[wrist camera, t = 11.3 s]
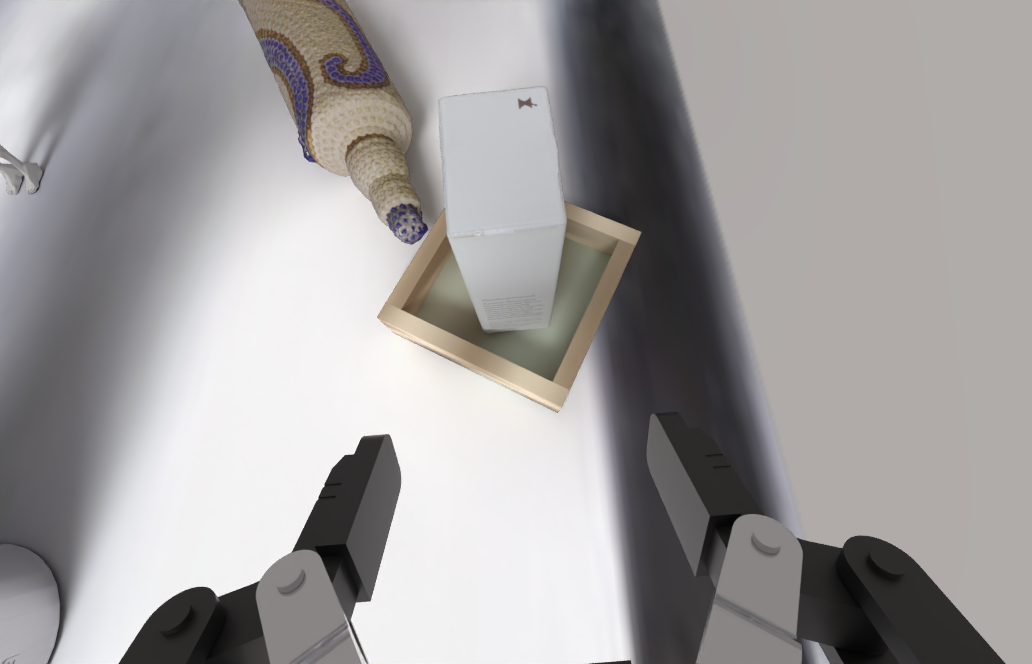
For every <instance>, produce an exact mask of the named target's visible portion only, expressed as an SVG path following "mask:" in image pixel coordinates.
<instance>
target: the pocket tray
mask: <svg viewBox="0 0 1032 664" xmlns="http://www.w3.org/2000/svg"><path fill="white" fill-rule="evenodd" d="M564 204H565V210H566V217H567V225H566V231H565V237H564V243H563V250H562V256H561V263H560V269H559V274H558V280H557V286H556V292H555V297H554V304H553V309H552V316H551V322H550V326H549V327H548V328H539V329H528V330H517V331H507V332H497V333H490V334H487V333H484V332H483V329H482V326H481V324H480V321H479V319H478V316H477V313H476V311H475V308H474V306H473V303H472V300H471V298H470V295H469V292H468V290H467V287H466V284H465V282H464V279H463V276H462V274H461V271H460V268H459V266H458V263H457V260H456V258H455V255H454V253H453V250H452V247H451V245H450V242H449V239H448V237H447V226H446V212H445V208H444V210H443V211H442V213H441V215H440V216H439V218H438V219H437V221H436V223H435V224H434V226H433V227H432V229H431V231H430V232H429V234H428V236H427V237H426V239H425V240H424V242H423V244H422V245H421V247H420V248H419V250H418V252H417V253H416V255H415V256H414V258H413V260H412V261H411V263H410V265H409V266H408V268H407V269H406V271H405V273H404V274H403V276H402V277H401V279H400V281H399V282H398V284H397V286H396V287H395V289H394V290H393V292H392V294H391V295H390V297H389V298H388V300H387V302H386V303H385V305H384V306H383V308H382V310H381V311H380V313H379V315H378V316H377V318H378V319H379V320H380V321H381V322H382V323H383V324H385V325H386V326H387V327H388V328H389V329H390V330H391V331H392V332H393V333H395V334H397V335H399V336H401V337H403V338H405V339H408V340H410V341H412V342H414V343H416V344H418V345H420V346H422V347H424V348H426V349H428V350H430V351H432V352H434V353H436V354H438V355H440V356H442V357H444V358H446V359H448V360H451V361H453V362H455V363H457V364H459V365H461V366H463V367H465V368H467V369H469V370H471V371H473V372H475V373H477V374H479V375H481V376H483V377H485V378H487V379H489V380H491V381H493V382H496V383H498V384H500V385H502V386H504V387H506V388H508V389H510V390H512V391H514V392H516V393H518V394H520V395H522V396H524V397H526V398H528V399H530V400H532V401H534V402H536V403H539V404H541V405H543V406H545V407H547V408H549V409H551V410H553V411H555V412H557V413H558V412H559V411H560V409H561V408H562V406H563V404H564V402H565V400H566V397H567V395H568V393H569V391H570V389H571V386H572V384H573V382H574V380H575V378H576V375H577V373H578V371H579V369H580V367H581V364H582V362H583V360H584V358H585V355H586V353H587V351H588V349H589V347H590V344H591V342H592V340H593V338H594V336H595V333H596V331H597V329H598V327H599V325H600V322H601V320H602V318H603V316H604V314H605V311H606V309H607V307H608V305H609V303H610V300H611V298H612V296H613V294H614V292H615V289H616V287H617V285H618V283H619V281H620V278H621V276H622V274H623V272H624V269H625V267H626V265H627V263H628V261H629V258H630V256H631V254H632V252H633V250H634V247H635V245H636V243H637V241H638V239H639V236H640V234H641V232H640V231H637V230H635V229H632V228H630V227H627V226H625V225H622V224H620V223H617V222H615V221H612V220H610V219H607V218H605V217H602V216H600V215H597V214H595V213H592V212H590V211H587V210H585V209H582V208H580V207H577V206H575V205H572V204H570V203H567V202H565V201H564Z"/></svg>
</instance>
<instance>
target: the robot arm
mask: <svg viewBox="0 0 1032 664" xmlns="http://www.w3.org/2000/svg"><path fill="white" fill-rule="evenodd" d="M647 462H648V466H649V470H650V473H651V475H652V477H653V480H654V482H655V484H656V487H657V489H658V491H659V493H660V496H661V498H662V500H663V503H664V505H665V507H666V510H667V512H668V514H669V517H670V519H671V521H672V524H673V526H674V528H675V531H676V533H677V535H678V538H679V540H680V542H681V545H682V547H683V549H684V552H685V554H686V556H687V559H688V561H689V563H690V565H691V568H692V570H693V572H694V575H695V577H699V576H710V577H711V579H712V582H713V584H714V586H715V591H714V594H713V598H712V602H711V606H710V610H709V614H708V618H707V622H706V626H705V630H704V634H703V637H702V641H701V645H700V649H699V653H698V657H697V661H696V664H801V661H802V647H801V643H800V641H798V640H797V638H796V637H800V638H803V639H807V640H811V641H814V642H818V643H819V645H820V646H821V648H822V650H823V652H824V653H825V655H826V657H827V659H828V661H829V662H830V664H1005V663H1004V662H1003V661H1002V659H1001V658H1000V657H999V656H998V655H997V653H996V652H995V651H994V650H993V649H992V648H991V647H990V645H989V644H988V643H987V642H986V641H985V640H984V639H983V638H982V636H981V635H980V634H979V633H978V632H977V631H976V630H975V629H974V627H973V626H972V625H971V624H970V623H969V622H968V620H967V619H966V618H965V617H964V616H963V615H962V614H961V612H960V611H959V610H958V609H957V608H956V607H955V606H954V605H953V603H952V602H951V601H950V600H949V599H948V598H947V597H946V595H945V594H944V593H943V592H942V591H941V590H940V589H939V588H938V586H937V585H936V584H935V583H934V582H933V581H932V579H931V578H930V577H929V576H928V575H927V574H926V573H925V572H924V570H923V569H922V568H921V567H920V566H919V565H918V564H917V563H916V562H915V561H914V560H913V559H912V558H911V557H910V556H909V555H907V554H906V553H905V552H903V551H902V550H901V549H899V548H897V547H896V546H894V545H892V544H890V543H888V542H886V541H883V540H881V539H877V538H874V537H869V536H855V537H851V538H850V539H848V540H847V541H846V542H845V544H844V546H843V548H838V547H833V546H829V545H824V544H818V543H814V542H809V541H805V540H802V539H799V538H796V537H795V536H794V534H793V533H792V532H791V531H790V530H789V529H788V528H786V527H785V526H784V525H782V524H781V523H779V522H778V521H776V520H774V519H772V518H769V517H766V516H765V515H764V514H763V513H762V511H761V510H760V508H759V507H758V505H757V504H756V502H755V501H754V499H753V498H752V496H751V495H750V493H749V492H748V490H747V489H746V487H745V486H744V484H743V483H742V481H741V480H740V478H739V477H738V475H737V474H736V472H735V471H734V469H733V468H731V465H730V463H729V462H728V461H727V459H726V458H725V457H724V456H723V453H722V452H721V450H720V449H719V447H718V446H717V444H716V443H715V441H714V440H713V439H712V438H711V437H709V436H708V435H707V434H706V433H704V432H703V431H702V430H700V429H699V428H690V429H689V428H688V426H687V425H686V423H685V421H684V420H683V418H682V416H681V415H680V414H679V413H678V412H671V413H658V414H652V415H651V418H650V426H649V434H648V443H647ZM400 488H401V471H400V467H399V464H398V460H397V457H396V453H395V450H394V446H393V443H392V439H391V437H390V435H388V434H385V435H372V436H363V437H362V438H361V440H360V442H359V444H358V447H357V449H356V451H355V454H353V455H345V456H344V457H343V458H342V459H341V460H340V461H339V462H338V463H337V464H336V465H335V466H334V467H333V468H332V470H331V472H330V474H329V476H328V478H327V480H326V482H325V487H323V489H322V491H321V493H320V495H319V497H318V498H319V499H318V500H317V501H316V503H315V505H314V507H313V510H312V512H311V514H310V516H309V518H308V520H307V522H306V524H305V526H304V528H303V530H302V532H301V535H300V537H299V539H298V541H297V543H296V545H295V547H294V549H293V551H292V553H290V554H288V555H286V556H284V557H282V558H281V559H279V560H278V561H277V562H275V563H274V564H273V565H272V566H271V567H270V568H269V569H268V570H267V571H266V573H265V574H264V575H263V577H262V578H261V580H260V581H258V582H256V583H254V584H251V585H249V586H246V587H243V588H241V589H238V590H236V591H233V592H230V593H228V594H225V595H222V596H220V597H217V596H216V594H215V593H214V592H213V591H212V590H211V589H210V588H207V587H195V588H191V589H188V590H185V591H183V592H181V593H179V594H177V595H175V596H174V597H172V598H171V599H169V600H168V601H166V602H165V603H164V604H163V605H161V606H160V607H159V608H158V609H157V610H156V611H155V612H154V613H153V614H152V615H151V616H150V617H149V619H148V620H147V621H146V623H145V624H144V625H143V627H142V629H141V630H140V632H139V633H138V635H137V636H136V638H135V639H134V641H133V642H132V644H131V645H130V647H129V648H128V650H127V652H126V653H125V655H124V656H123V658H122V659H121V661H120V662H119V664H369V662H368V659H367V657H366V654H365V652H364V650H363V647H362V645H361V642H360V640H359V637H358V635H357V633H356V630H355V628H354V625H353V623H352V621H351V617H352V614H353V610H354V607H355V603H356V602H367V601H371V597H372V594H373V590H374V586H375V582H376V579H377V575H378V571H379V567H380V564H381V560H382V556H383V552H384V549H385V545H386V541H387V538H388V534H389V530H390V526H391V523H392V519H393V515H394V511H395V508H396V504H397V500H398V496H399V493H400ZM59 617H60V600H59V594H58V587H57V584H56V581H55V579H54V577H53V574H52V572H51V570H50V568H49V567H48V566H47V565H46V563H45V562H44V561H43V560H42V559H41V557H39V556H38V555H36V554H35V553H33V552H32V551H30V550H29V549H26V548H23V547H20V546H17V545H13V544H0V664H47V663H48V660H49V658H50V655H51V653H52V650H53V648H54V645H55V640H56V636H57V631H58V627H59ZM591 664H631V660H629V661H616V662H604V663H591Z"/></svg>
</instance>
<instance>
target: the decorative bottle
mask: <svg viewBox="0 0 1032 664" xmlns="http://www.w3.org/2000/svg"><path fill="white" fill-rule="evenodd" d="M238 1H239V3H240V5H241V6H242V7H243V9H244V11H245V13H246V15H247V17H248V20H249V22H250V24H251V26H252V28H253V30H254V32H255V34H256V36H257V39H258V41H259V43H260V45H261V47H262V50H263V52H264V55H265V58H266V60H267V62H268V64H269V67H270V68H271V70H272V72H273V74H274V77H275V80H276V82H277V83H278V85H279V88H280V91H281V93H282V96H283V98H284V100H285V102H286V104H287V107H288V109H289V111H290V114H291V116H292V118H293V120H294V122H295V124H296V126H297V128H298V134H299V138H298V140H299V143H300V144H301V146H302V148H303V153H304V157H305V158H306V159H307V160H308V161H309V162H316V163H318V164H319V165H320V166H321V167H323V168H325V169H326V170H328V171H329V172H332V173H335V174H338V175H341V176H345V177H347V176H351V179H352V181H353V183H354V185H355V186H356V187H357V188H358V189H359V190H360V191H361V193H362V194H363V195H364V196H365V197H366V198H367V199H368V200H369V201H371V202H372V204H373V207H374V209H375V211H376V213H377V215H378V217H379V219H380V220H381V221H382V222H383V223H384V224H385V225H386V226H389V228H390V230H392V231H393V233H394V235H395V236H396V237H397V238H399V239H400V240H401V241H402V242H404V243H408V244H414V243H415V242H417V241H419V240H421V238H422V237H423V235H424V234H425V233H426V231H427V230H428V228H427V225H426V224H425V223H423V221H422V212H421V211H420V209H421V205H420V200H419V198H418V197H417V195H416V193H415V191H414V188H413V187H412V186H411V184H410V182H409V177H410V175H409V168H408V164H407V162H406V159H405V157H404V154H405V153H406V152H407V150H408V148H409V146H410V143H411V138H412V134H413V129H412V120H411V116H410V113H409V111H408V110H407V108H406V106H405V104H404V102H403V101H402V99H401V97H400V95H399V94H398V92H397V91H396V90H395V88H394V85H393V83H392V81H391V80H390V78H389V76H388V75H387V73H386V71H385V69H384V67H383V65H382V63H381V62H380V60H379V58H378V56H377V55H376V53H375V52H374V51H373V49H372V46H371V44H370V43H369V41H368V40H367V38H366V36H365V34H364V33H363V31H362V29H361V27H360V26H359V24H358V22H357V20H356V18H355V16H354V15H353V13H352V11H351V10H350V8H349V7H348V5H347V3H346V2H345V0H238ZM305 147H306V148H305ZM307 151H308V153H309V156H307V153H306V152H307Z"/></svg>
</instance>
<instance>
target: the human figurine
mask: <svg viewBox="0 0 1032 664" xmlns="http://www.w3.org/2000/svg"><path fill="white" fill-rule="evenodd" d="M0 157H1V158H4V159H6V160H7V161H9V162H10V163H11V164H2V163H0V173H1V174H3V176H4V177H5V179H6V184H7V193H8V194H10V195H16V194H17V193H18V191H19V188H20V184H21V182H22V177H23V176H24V177H25V180H26V186H25V188H26V193H27V194H29V193H30V194H32V193H34V192H36V189H37V188H38V187H39V180H40V179H41V176H42V170H41V169H40V167H39V166H38V164H37V163H22V162H21V161H20V160H18V159H17V158H16V157H14V156H13V155H12V154H10V153H9V152H8V151H7V150H6V149H5V148H3V147H2V146H1V145H0Z"/></svg>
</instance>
